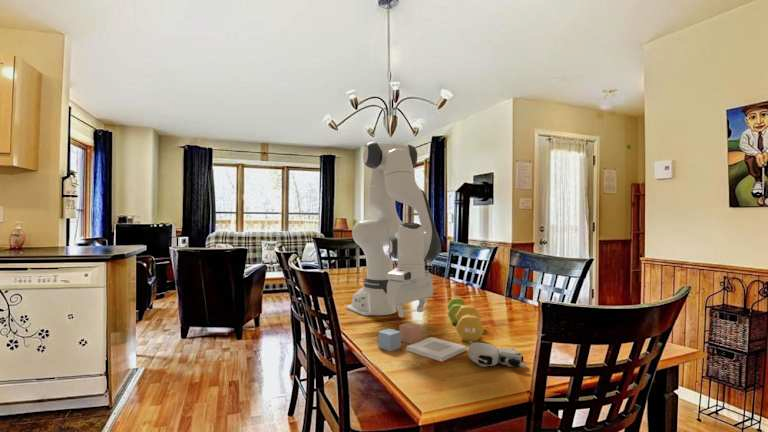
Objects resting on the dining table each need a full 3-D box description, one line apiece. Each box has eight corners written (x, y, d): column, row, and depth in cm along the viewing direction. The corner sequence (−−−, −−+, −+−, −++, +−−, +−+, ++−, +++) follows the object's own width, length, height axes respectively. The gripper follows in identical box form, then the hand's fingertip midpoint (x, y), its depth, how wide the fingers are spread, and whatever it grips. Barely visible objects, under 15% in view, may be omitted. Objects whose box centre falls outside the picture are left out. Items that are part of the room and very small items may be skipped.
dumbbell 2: (483, 343, 127) (484, 318, 127) (455, 341, 129) (455, 316, 129) (480, 327, 146) (480, 305, 146) (455, 325, 148) (455, 303, 147)
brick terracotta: (399, 340, 129) (399, 325, 129) (408, 337, 133) (409, 322, 133) (411, 343, 126) (411, 328, 126) (420, 340, 130) (420, 325, 130)
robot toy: (518, 360, 115) (466, 353, 117) (519, 345, 115) (467, 338, 117) (527, 378, 103) (468, 369, 105) (528, 361, 103) (470, 353, 105)
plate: (406, 350, 120) (406, 346, 120) (431, 340, 129) (431, 336, 129) (441, 361, 111) (441, 357, 111) (466, 350, 120) (466, 346, 120)
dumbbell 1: (447, 313, 165) (447, 296, 165) (466, 314, 164) (466, 297, 164) (447, 324, 149) (447, 305, 149) (468, 325, 148) (469, 306, 148)
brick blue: (378, 347, 122) (378, 331, 122) (389, 343, 126) (389, 328, 126) (390, 351, 119) (390, 335, 119) (400, 347, 122) (401, 331, 122)
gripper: (422, 268, 139) (422, 307, 139) (383, 274, 124) (383, 318, 124) (437, 269, 135) (437, 310, 134) (398, 276, 120) (398, 321, 119)
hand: (411, 314), depth 129 cm, fingers open, 8 cm apart
